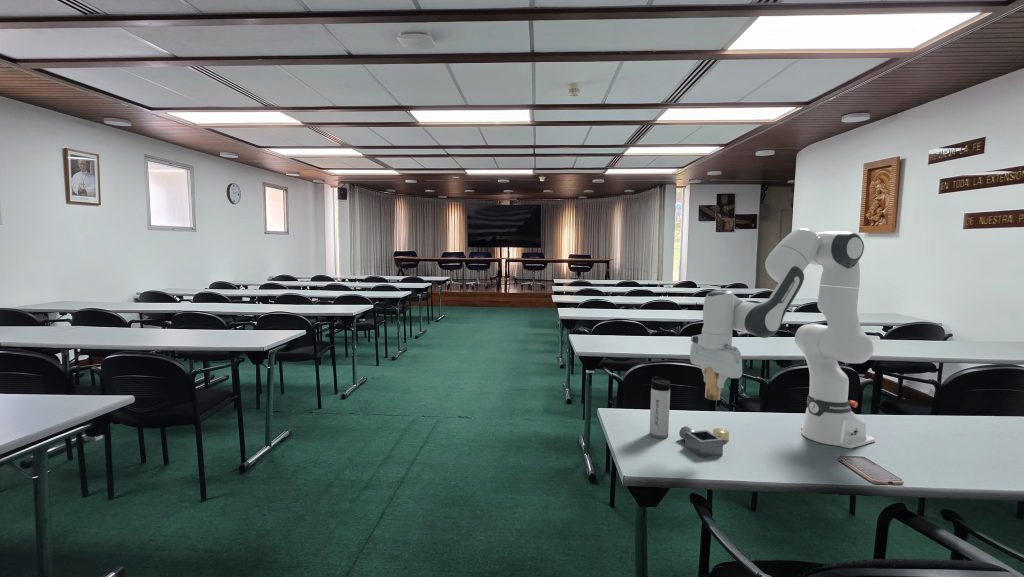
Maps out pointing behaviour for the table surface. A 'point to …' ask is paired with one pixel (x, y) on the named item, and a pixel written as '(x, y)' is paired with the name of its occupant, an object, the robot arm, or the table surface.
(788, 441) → the table surface
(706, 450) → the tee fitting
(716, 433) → the brass round knob
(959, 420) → the table surface
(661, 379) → the travel mug
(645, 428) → the table surface
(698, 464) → the table surface
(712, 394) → the copper brown cylinder
